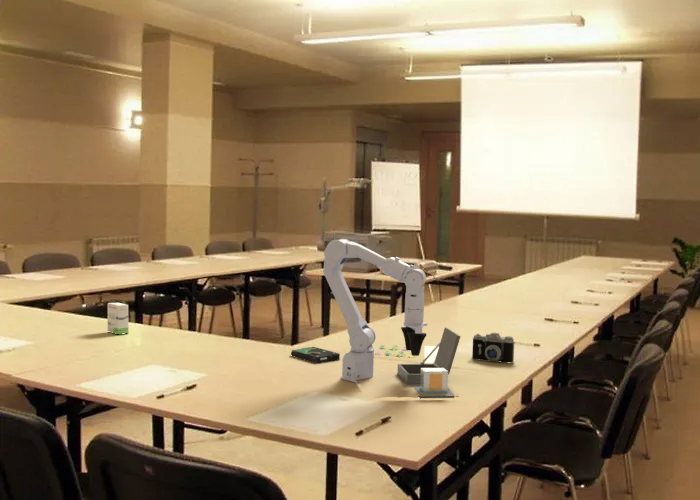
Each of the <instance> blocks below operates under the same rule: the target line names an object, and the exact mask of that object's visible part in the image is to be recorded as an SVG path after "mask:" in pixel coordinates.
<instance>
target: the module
mask: <svg viewBox="0 0 700 500" xmlns="http://www.w3.org/2000/svg"><path fill="white" fill-rule="evenodd" d="M448 382H449V374H448V371H447V370H446V369H445V368H421V374H420V384H419V386H420V389H421V390H422V391H423V392H447V388H448V384H449V383H448Z"/></svg>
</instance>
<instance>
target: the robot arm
mask: <svg viewBox="0 0 700 500" xmlns="http://www.w3.org/2000/svg"><path fill="white" fill-rule="evenodd" d="M323 256H324V260H323V275H324V277H325V280H326V281H327V283H328V286H329V288H330V290H331V292H332V294H333V297H334V299H335V301H336V303H337V305H338V307H339V310H340V312H341V314H342V317H343V318H344V320H345V323H346V327H347V330H346V331H347V333H348V336H349V337H348V338H349V340H348V341H349V345H350V350H349V352H345V354H344V355H343V357H342V368H341V369H342V371H341V372H342V373H341V374H342V375H341V376H340V377H339V378H340V379H342V380H345V381H349V382H353V383H355V384H360V381H359V380H363V379H371V378H373V377H374V363H375V362H374V359H375V348H374V347H373V344H374V343H375V341H376V332H375V331H374V329H373V328H371V327H370V326H369V324H368V322H367V321H366V320H365V318H363V316H362V314H361V312H360V310H359V308H358V305H357V303H356V301H355V299H354V297H353V295H352V293H351V291H350V287H349V286H348V284H347V282H346V279H345V277H344V275H343V273H342V270H343V268H344V266H345V263H346V261H347V260H348V259H356V258H357V259H358V258H359V259H361V260H363V261H366V262H367V263H370V264H372V265H374V266H377V267H378V268H380V269H381V270H382V272H383V275H386V276H387V277H390V278H392V279H394V280H397V281H398V282H400V283H401V284H402V283H404V284H405V294H404V295H405V299H404V322H403V326H401V327H400V330H401V332H402V334H403V337H404V338H403V339H404V342H405V343H404V344H405V348H406V350H407V351H410V355H412V356H415V357H416V356H417V357H419V356H420V353H421V350H422V346H423V343H424V340H425V338H426V337H427V333H426V332H423V328H424V327H425V326H426V327H427V326H428V323H427V322H424V314H425V312H424V311H425V283H426V281H427V275H426V273H425V272H424V270H422V269H421V268H420V267H415V265H413V264H407V263H406V262H403V261H401V258H400V257H398V256H395V257H393V256H391V257H389V258H386V257H384V256H382V255H381V254H378V253H377V252H375V251H373V250H371V249H369V248H368V247H365V246H364V245H362V244H360V243H358V242H355V241H350V240H349V239H347V238H339V239H332V240H331V241H329V242H328V244H327V246H326V248H325V249H324V251H323Z"/></svg>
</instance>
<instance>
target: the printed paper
mask: <svg viewBox="0 0 700 500" xmlns="http://www.w3.org/2000/svg"><path fill="white" fill-rule="evenodd" d="M436 346H437V345H436ZM436 346H435V345H431V346H430V345H424V359H425V358H426V357H427V356H428V355H429V354H430V353H431V351H432V350H433V349H434V348H435V347H436ZM398 348H400V347H399V346H398V345H396V344H394V345H393V347H389V350H387V351H386V352H385V353H384V355H386V356H389V355H391V350H392V351H397V350H398ZM379 349H381V350H383V349H386V346H385V344H381V346H380V347H379ZM438 349H439V347H438V348H437V349H436V350H435V351H434V352H433V353H432V354H431V355H430V357H429V358H428V359H427V360H426V361H425V362H424V364H433V363H434V362H435V359H436V355H437V352H438ZM404 351H405V352H406V351H408V350H406V347H404V348H403V349H402V350H400V351H399V352H398V353H397V354H396V353H395V354H394V353H393V356H397V357H398V358H401V357H402V356H403V357H404V356H406V354H405V353H404ZM382 354H383V353H382ZM382 354H381V352H380V351H379V350H378V351H376V352H375V356H380V355H382ZM408 357H409V358H416V356H412V354H410V355H408V356H407V358H408Z"/></svg>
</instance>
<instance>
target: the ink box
mask: <svg viewBox="0 0 700 500" xmlns="http://www.w3.org/2000/svg"><path fill="white" fill-rule="evenodd" d="M107 331H110V332H113V333H116V334H122V333H128V334H129V304H125V303H121V302H108V303H107Z"/></svg>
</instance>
